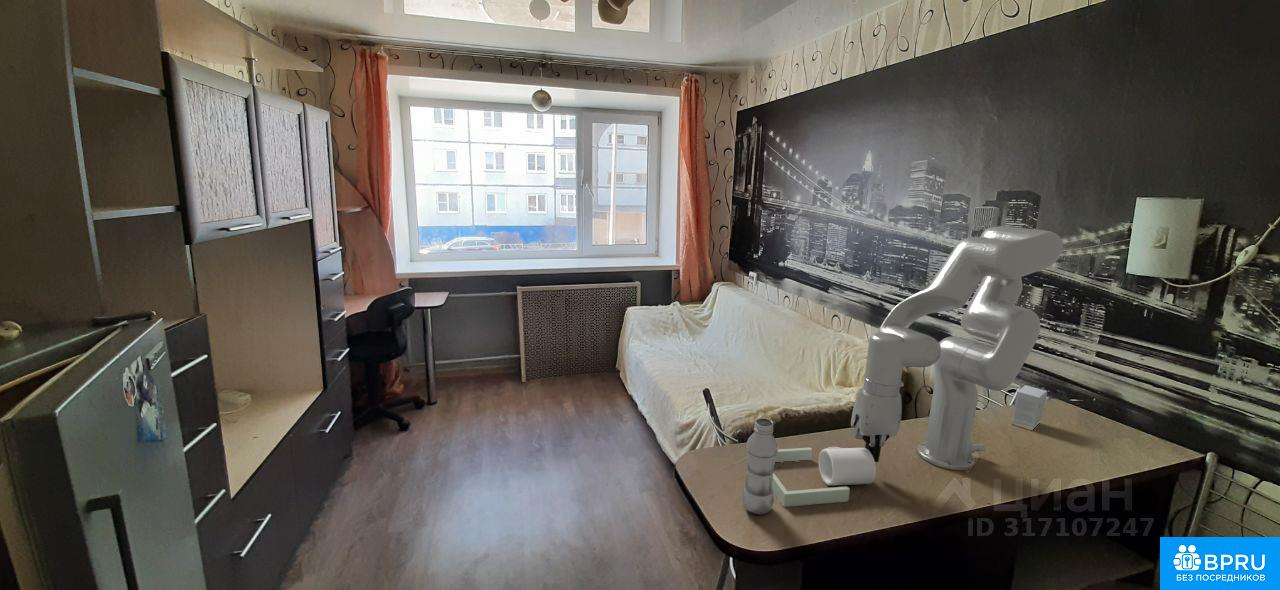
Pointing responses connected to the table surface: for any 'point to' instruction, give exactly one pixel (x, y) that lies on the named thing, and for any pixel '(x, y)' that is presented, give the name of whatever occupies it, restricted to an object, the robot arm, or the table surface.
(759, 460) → the plastic bottle
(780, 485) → the green u-shaped bracket
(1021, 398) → the small box
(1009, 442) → the table surface
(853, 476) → the mug
